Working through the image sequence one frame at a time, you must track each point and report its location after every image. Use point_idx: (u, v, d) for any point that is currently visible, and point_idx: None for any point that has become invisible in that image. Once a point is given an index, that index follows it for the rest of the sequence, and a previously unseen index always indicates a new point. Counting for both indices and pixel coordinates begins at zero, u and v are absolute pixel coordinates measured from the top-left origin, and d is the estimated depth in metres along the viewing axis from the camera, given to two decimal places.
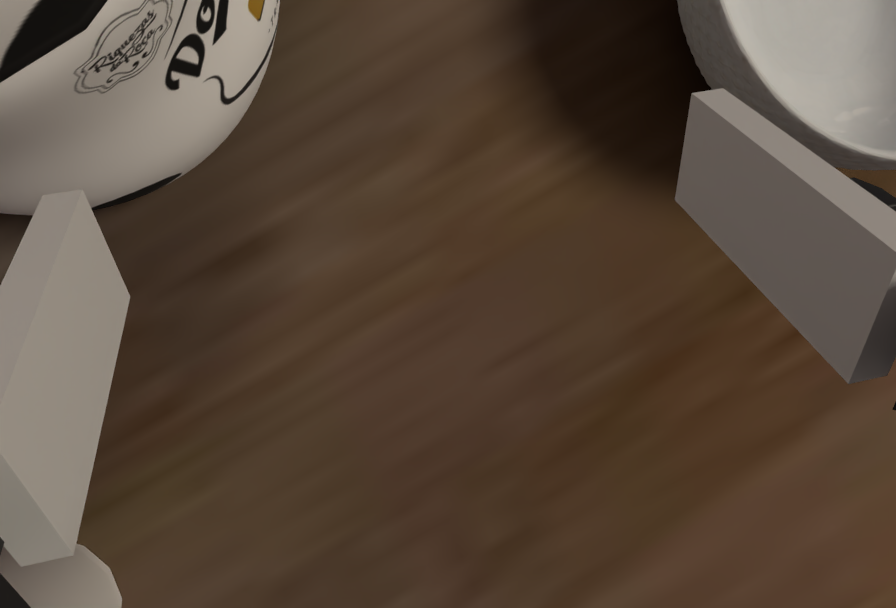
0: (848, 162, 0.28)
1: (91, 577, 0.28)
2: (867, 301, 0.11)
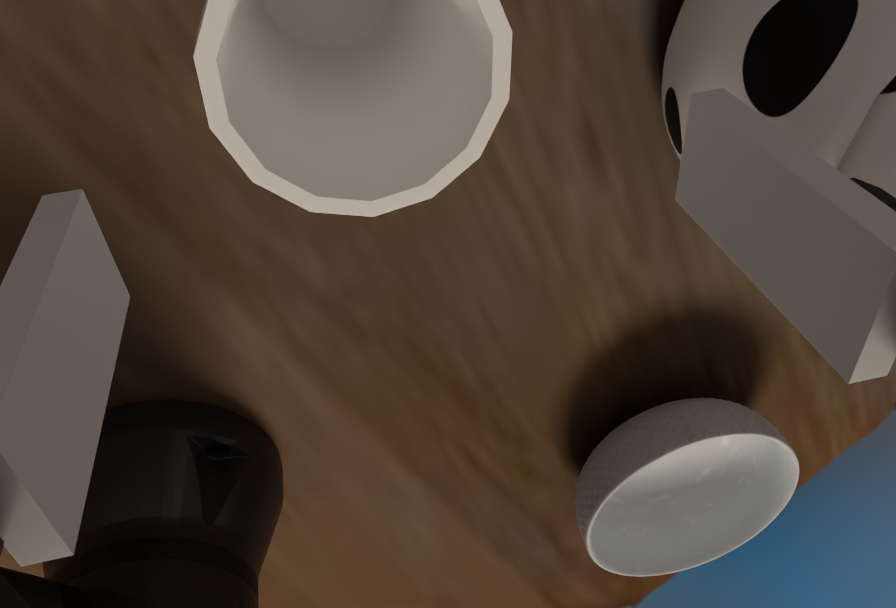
0: (590, 494, 0.50)
1: None
2: (867, 301, 0.11)
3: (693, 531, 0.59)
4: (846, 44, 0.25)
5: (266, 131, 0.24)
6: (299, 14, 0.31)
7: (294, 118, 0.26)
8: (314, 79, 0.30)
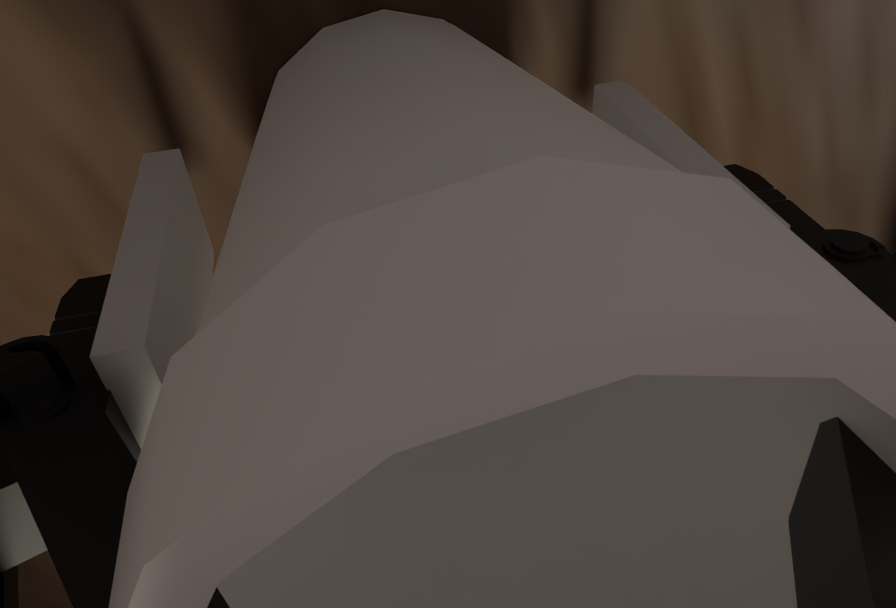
0: None
1: None
2: None
3: None
4: None
5: None
6: None
7: (352, 506, 0.13)
8: None
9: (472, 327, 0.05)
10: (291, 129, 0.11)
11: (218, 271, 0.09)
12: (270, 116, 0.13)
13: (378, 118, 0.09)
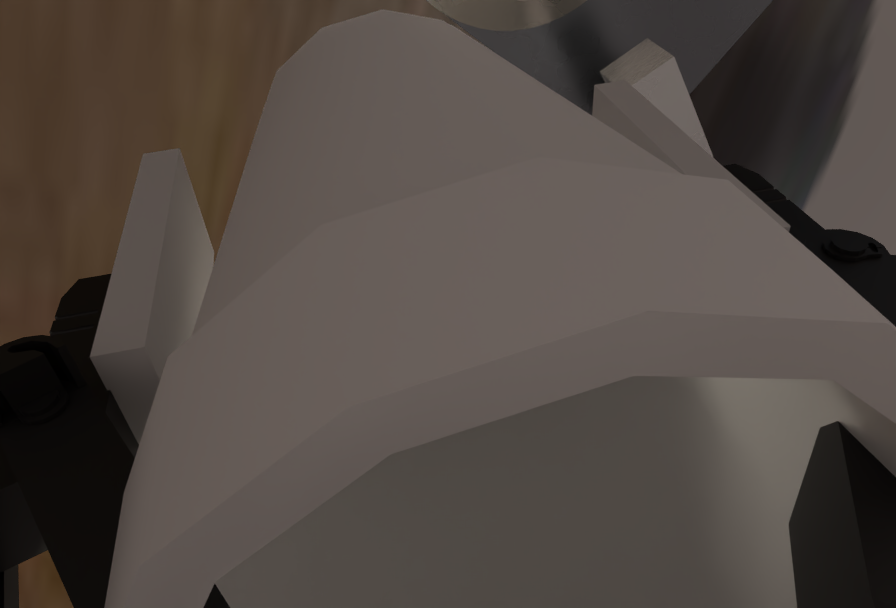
0: None
1: None
2: None
3: None
4: None
5: None
6: None
7: (349, 507, 0.13)
8: None
9: (470, 327, 0.05)
10: (289, 129, 0.11)
11: (216, 270, 0.09)
12: (268, 116, 0.13)
13: (376, 118, 0.09)
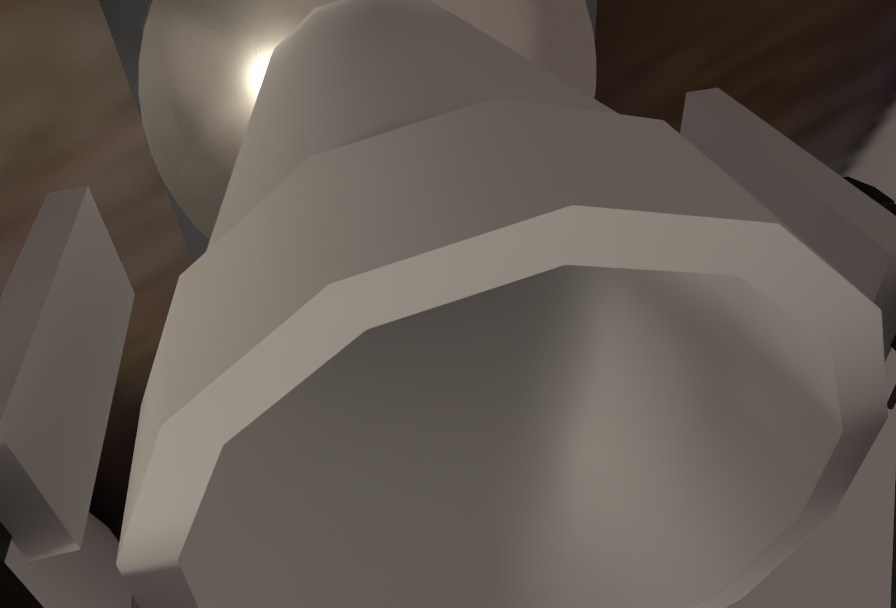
0: None
1: None
2: None
3: None
4: None
5: (295, 537, 0.11)
6: None
7: (343, 445, 0.14)
8: None
9: (429, 224, 0.06)
10: (285, 94, 0.12)
11: (219, 212, 0.10)
12: (266, 86, 0.14)
13: (362, 78, 0.10)
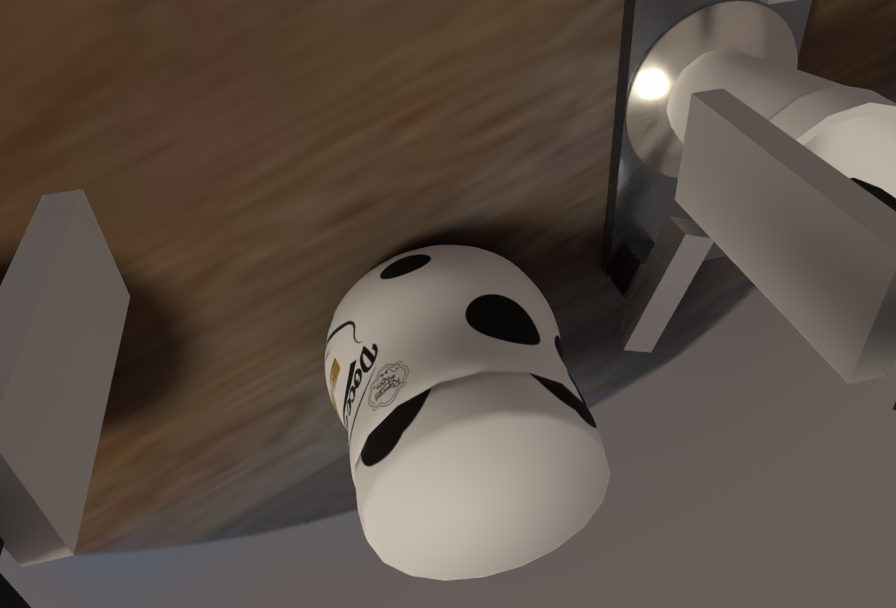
0: None
1: None
2: (867, 301, 0.11)
3: None
4: (528, 346, 0.43)
5: None
6: None
7: None
8: None
9: (842, 106, 0.34)
10: (737, 85, 0.40)
11: None
12: (710, 83, 0.42)
13: (778, 80, 0.38)
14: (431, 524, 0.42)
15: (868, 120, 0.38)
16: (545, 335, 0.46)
